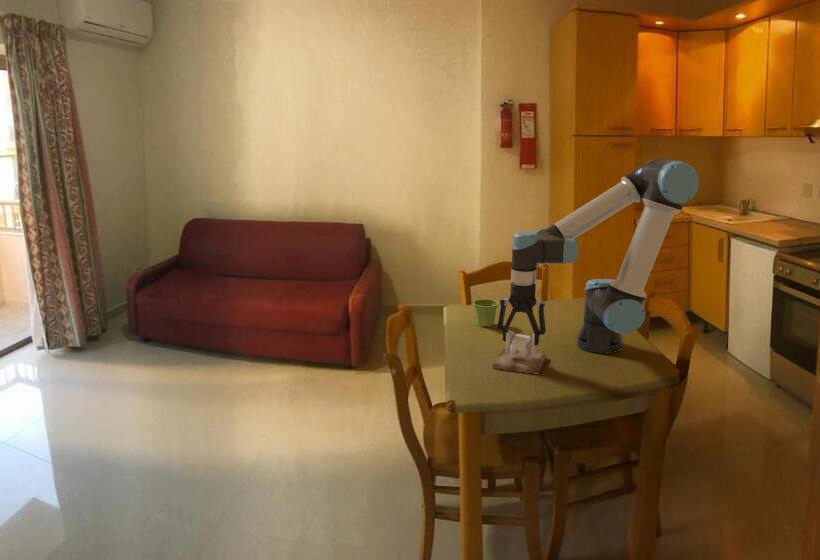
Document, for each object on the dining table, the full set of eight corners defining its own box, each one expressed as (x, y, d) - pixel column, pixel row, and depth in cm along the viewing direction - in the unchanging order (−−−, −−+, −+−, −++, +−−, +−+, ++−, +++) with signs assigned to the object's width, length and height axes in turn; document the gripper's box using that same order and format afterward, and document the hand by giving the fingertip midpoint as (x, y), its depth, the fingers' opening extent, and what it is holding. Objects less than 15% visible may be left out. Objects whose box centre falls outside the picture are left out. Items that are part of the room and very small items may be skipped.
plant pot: (485, 330, 230) (486, 307, 228) (467, 324, 237) (467, 302, 235) (503, 325, 236) (503, 302, 234) (484, 319, 243) (485, 297, 241)
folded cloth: (546, 358, 203) (546, 353, 203) (538, 374, 191) (538, 369, 190) (503, 352, 208) (503, 348, 208) (492, 368, 196) (493, 363, 195)
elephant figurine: (538, 351, 201) (539, 330, 199) (526, 361, 193) (527, 339, 191) (515, 346, 205) (516, 325, 203) (503, 356, 197) (504, 334, 195)
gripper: (558, 282, 193) (554, 352, 199) (493, 276, 200) (491, 344, 206) (555, 288, 186) (550, 361, 192) (487, 282, 193) (485, 352, 199)
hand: (520, 352), depth 199 cm, fingers closed on elephant figurine, 7 cm apart
